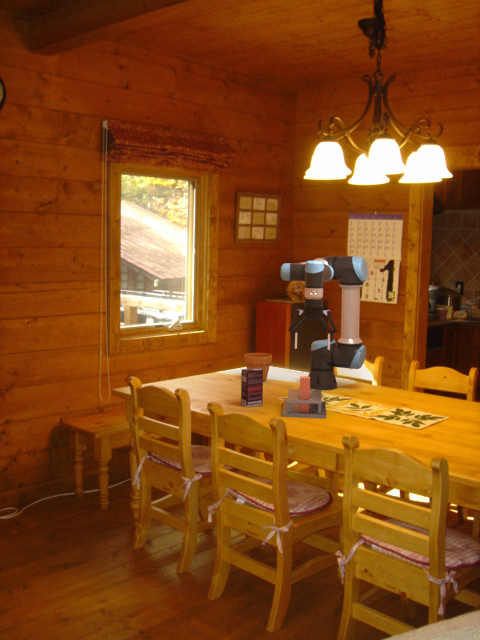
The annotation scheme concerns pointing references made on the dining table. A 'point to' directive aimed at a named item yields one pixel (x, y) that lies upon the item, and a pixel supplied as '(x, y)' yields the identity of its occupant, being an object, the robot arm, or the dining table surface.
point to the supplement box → (251, 387)
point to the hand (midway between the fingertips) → (312, 348)
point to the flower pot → (258, 362)
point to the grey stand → (315, 402)
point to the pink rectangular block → (304, 393)
